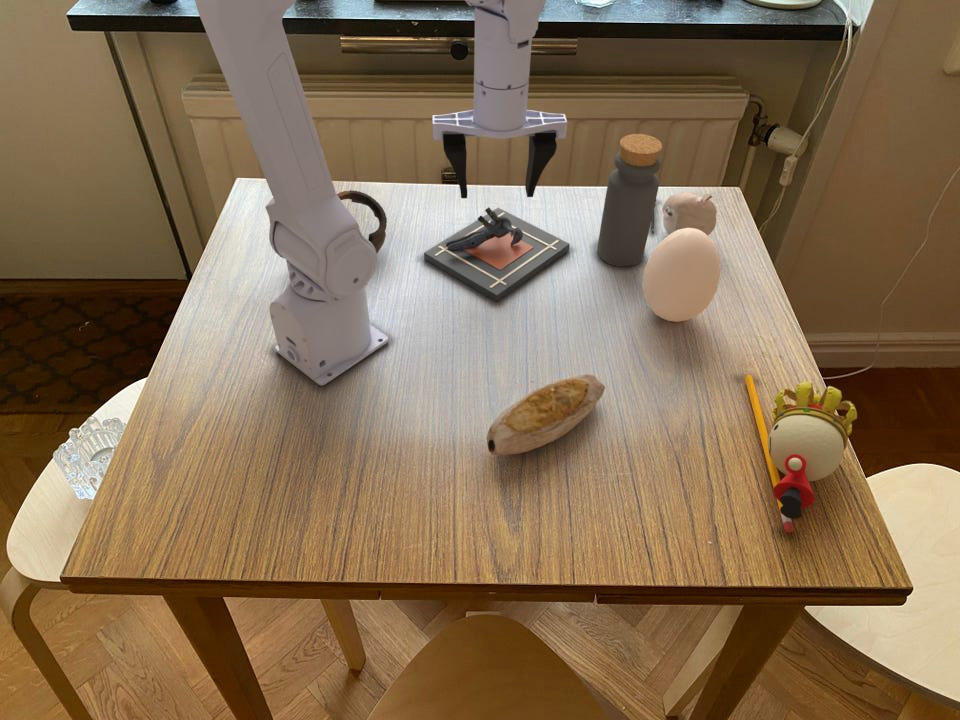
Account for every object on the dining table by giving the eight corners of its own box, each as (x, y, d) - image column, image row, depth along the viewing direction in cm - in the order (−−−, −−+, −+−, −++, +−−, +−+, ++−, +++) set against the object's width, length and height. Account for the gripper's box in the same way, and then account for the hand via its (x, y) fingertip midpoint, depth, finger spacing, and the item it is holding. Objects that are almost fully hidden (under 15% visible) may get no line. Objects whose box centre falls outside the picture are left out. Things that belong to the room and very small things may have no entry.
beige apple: (658, 246, 90) (671, 192, 85) (657, 219, 95) (670, 165, 89) (710, 252, 90) (727, 197, 84) (707, 224, 94) (723, 170, 88)
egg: (701, 345, 78) (730, 262, 70) (629, 328, 79) (649, 245, 71) (709, 301, 83) (736, 219, 75) (641, 286, 85) (660, 204, 77)
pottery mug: (349, 218, 94) (372, 178, 88) (381, 277, 92) (407, 240, 86) (266, 231, 87) (285, 187, 81) (299, 294, 85) (321, 255, 79)
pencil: (783, 532, 61) (785, 527, 60) (743, 379, 74) (745, 374, 73) (792, 532, 61) (795, 528, 60) (751, 379, 74) (753, 375, 73)
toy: (747, 523, 63) (778, 406, 72) (837, 544, 60) (857, 418, 69) (748, 472, 59) (780, 354, 68) (844, 491, 55) (865, 364, 64)
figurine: (446, 238, 80) (460, 279, 82) (525, 209, 81) (537, 251, 83) (433, 219, 91) (446, 256, 93) (502, 193, 92) (513, 231, 94)
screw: (653, 202, 98) (647, 199, 98) (657, 197, 98) (651, 194, 98) (653, 236, 93) (647, 232, 93) (657, 230, 92) (651, 227, 92)
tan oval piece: (616, 412, 70) (623, 382, 67) (503, 480, 64) (504, 450, 61) (581, 381, 73) (586, 350, 70) (470, 443, 67) (470, 413, 64)
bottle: (652, 261, 88) (678, 151, 78) (610, 271, 87) (631, 160, 76) (628, 235, 92) (650, 127, 82) (588, 244, 91) (605, 135, 80)
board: (496, 302, 82) (497, 294, 81) (423, 259, 88) (423, 251, 87) (569, 250, 90) (570, 243, 89) (497, 213, 95) (498, 206, 94)
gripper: (565, 62, 76) (553, 174, 86) (430, 62, 75) (433, 176, 85) (575, 90, 71) (561, 206, 81) (431, 91, 70) (435, 208, 80)
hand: (496, 193), depth 83 cm, fingers open, 7 cm apart
